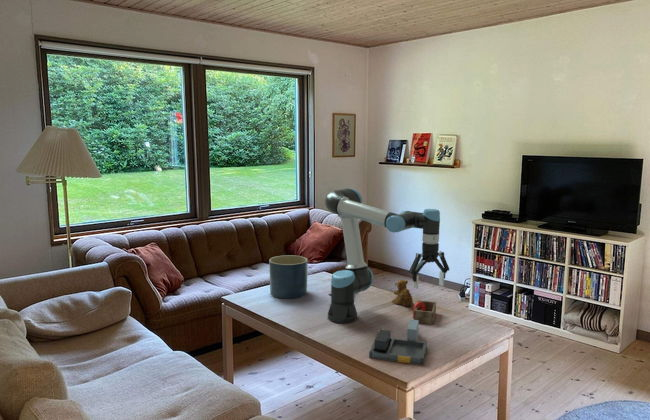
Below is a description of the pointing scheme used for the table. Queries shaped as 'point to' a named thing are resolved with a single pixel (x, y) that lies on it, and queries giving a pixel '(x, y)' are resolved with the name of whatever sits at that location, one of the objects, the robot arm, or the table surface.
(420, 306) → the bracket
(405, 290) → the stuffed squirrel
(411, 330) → the pale blue upright block
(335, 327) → the table surface
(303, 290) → the planter
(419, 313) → the open wooden box
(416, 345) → the grey flat rectangular tray
